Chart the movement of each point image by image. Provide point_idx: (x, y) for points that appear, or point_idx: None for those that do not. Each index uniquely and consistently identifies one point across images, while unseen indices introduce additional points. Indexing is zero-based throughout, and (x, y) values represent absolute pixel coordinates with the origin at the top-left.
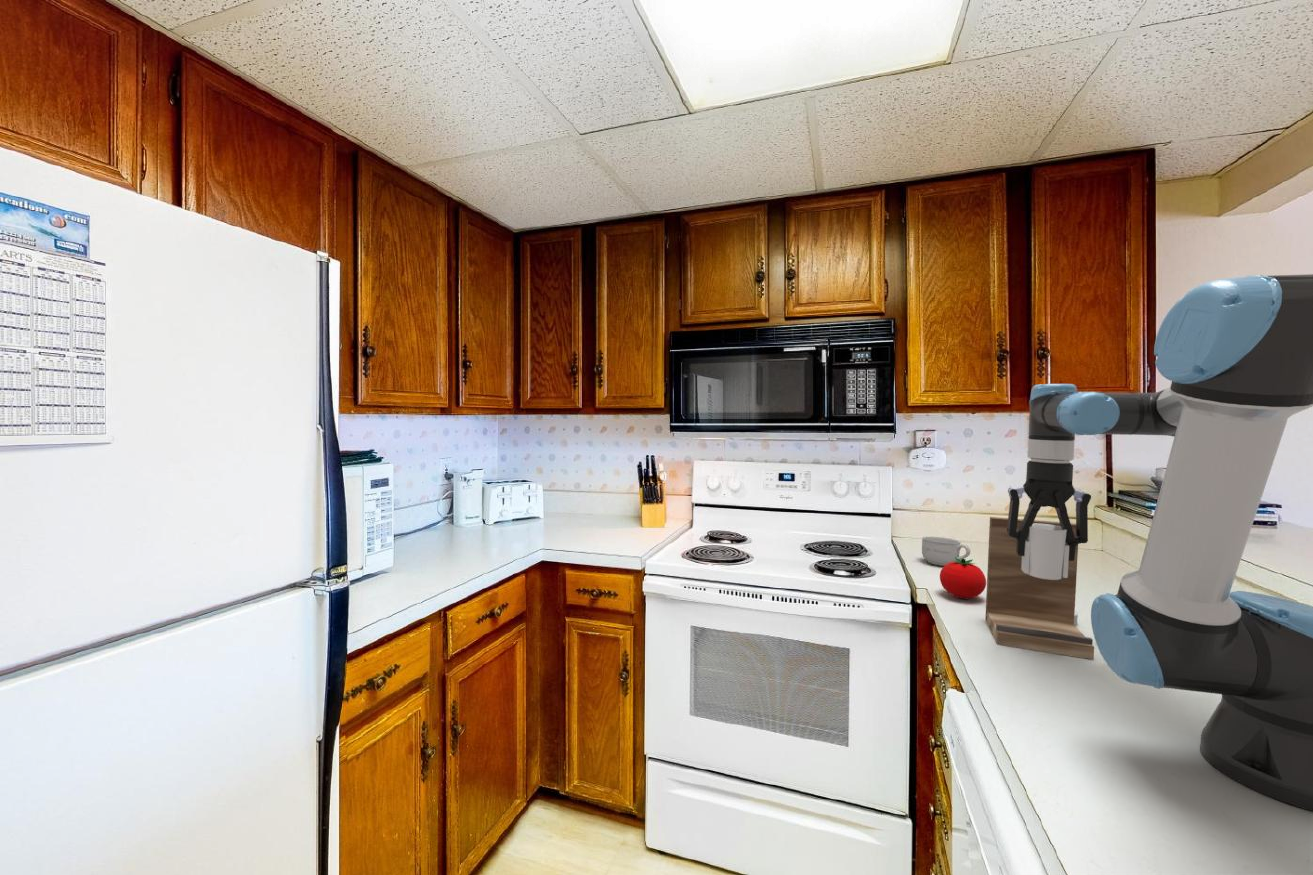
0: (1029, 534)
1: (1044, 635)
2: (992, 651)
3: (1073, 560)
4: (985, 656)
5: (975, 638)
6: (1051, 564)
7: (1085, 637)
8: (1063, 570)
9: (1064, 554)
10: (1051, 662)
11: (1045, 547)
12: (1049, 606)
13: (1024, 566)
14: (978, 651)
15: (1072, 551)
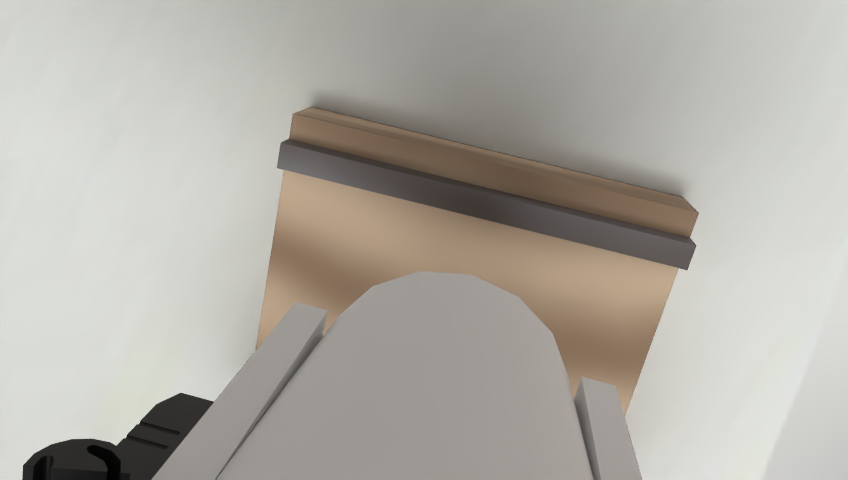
0: None
1: (480, 189)
2: (756, 105)
3: (176, 395)
4: (831, 33)
5: (758, 251)
6: (434, 324)
7: (301, 167)
8: (308, 337)
9: (247, 425)
10: (523, 31)
11: (494, 448)
12: None
13: (622, 425)
14: (835, 90)
15: (136, 459)
